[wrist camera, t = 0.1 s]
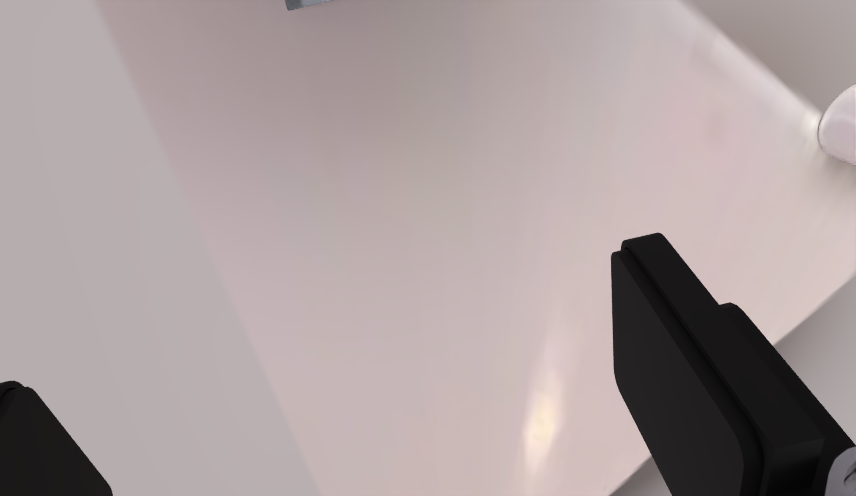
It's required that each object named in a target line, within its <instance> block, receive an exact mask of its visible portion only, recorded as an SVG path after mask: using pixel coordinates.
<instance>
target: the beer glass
mask: <svg viewBox="0 0 856 496" xmlns="http://www.w3.org/2000/svg"><path fill="white" fill-rule="evenodd" d="M818 137H819V142H820V145H821V147H822V148H823V150H824V151H825V152H826V153H827V154H829V155H830V156H832V157H834V158H836V159H839V160H842V161H844V162H847V163H850V164H853V165H855V166H856V84H854V85H852V86H850V87H849V88H847V89H846V90H845V91H843V92H842V93H841V94H840V95H838V96H837V98H835V99H834V101H833V102H832V103H831V104H830V106H829V107H828V108H827V110H826V111H825V113H824V115H823V117H822V119H821V122H820V126H819V131H818Z"/></svg>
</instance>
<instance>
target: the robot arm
mask: <svg viewBox="0 0 856 496" xmlns="http://www.w3.org/2000/svg"><path fill="white" fill-rule="evenodd" d="M611 279H612V318H613V356H614V374H615V379H616V383H617V386H618V389H619V391H620V393H621V395H622V397H623V399H624V401H625V403H626V405H627V407H628V409H629V411H630V413H631V415H632V417H633V419H634V421H635V423H636V425H637V427H638V429H639V431H640V433H641V435H642V437H643V439H644V441H645V443H646V445H647V447H648V449H649V451H650V453H651V455H652V457H653V459H654V461H655V462H656V465H657V467H658V469H659V471H660V473H661V474H662V476H663V478H664V480H665V482H666V484H667V486H668V488H669V490H670V492H671V494H672V496H856V445H855V444H854V443H853V441H852V440H851V439H850V438H849V437H848V436H847V434H846V433H845V432H844V431H843V429H842V428H841V427H840V426H839V425H838V423H837V422H836V421H835V420H834V419H833V417H832V416H831V415H830V414H829V413H828V412H827V410H826V409H825V408H824V407H823V405H822V404H821V403H820V402H819V401H818V400H817V398H816V397H815V396H814V395H813V394H812V393H811V391H810V390H809V389H808V388H807V386H806V385H805V384H804V383H803V382H802V380H801V379H800V378H799V377H798V376H797V375H796V373H795V372H794V371H793V370H792V368H791V367H790V366H789V365H788V364H787V363H786V361H785V360H784V359H783V358H782V357H781V355H780V354H779V353H778V352H777V351H776V350H775V348H774V347H773V346H772V345H771V343H770V342H769V341H768V340H767V339H766V337H765V336H764V335H763V334H762V333H761V331H760V330H759V329H758V328H757V327H756V326H755V324H754V323H753V322H752V321H751V320H750V318H749V317H748V316H747V315H746V314H745V312H744V311H743V310H741V309H740V308H739V307H738V306H737V305H735V304H733V303H731V302H730V303H725V304H721V305H719V304H718V303H717V302H716V300H715V299H714V298H713V297H712V295H711V294H710V293H709V292H708V290H707V289H706V288H705V287H704V285H703V284H702V283H701V282H700V280H699V279H698V278H697V277H696V275H695V274H694V273H693V272H692V270H691V269H690V268H689V267H688V265H687V264H686V263H685V262H684V260H683V259H682V258H681V257H680V255H679V254H678V253H677V252H676V250H675V249H674V248H673V247H672V245H671V244H670V243H669V242H668V240H667V239H666V238H665V237H664V236H663V235H662V234H661V233H654V234H650V235H645V236H641V237H637V238H632V239H628V240H624V241H623V242H622V245H621V251H617V252H613V253H612V255H611ZM0 496H113V494H112V490H111V488H110V486H109V484H108V483H107V482H106V480H105V479H104V478H103V477H102V475H101V474H100V473H99V472H98V470H97V469H96V468H95V466H94V465H93V464H92V463H91V462H90V461H89V459H88V458H87V456H86V455H85V454H84V453H83V451H82V450H81V449H80V447H79V446H78V445H77V444H76V443H75V441H74V440H73V439H72V437H71V436H70V435H69V434H68V432H67V431H66V430H65V429H64V427H63V426H62V425H61V423H60V422H59V421H58V420H57V418H56V417H55V416H54V415H53V413H52V412H51V411H50V410H49V408H48V407H47V406H46V405H45V403H44V402H43V401H42V399H41V398H40V397H39V396H38V394H37V393H36V392H35V391H34V390H33V389H32V388H29V387H24V386H22V384H20V383H19V382H16V381H7V382H3V383H0Z"/></svg>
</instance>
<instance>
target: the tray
mask: <svg viewBox="0 0 856 496" xmlns="http://www.w3.org/2000/svg"><path fill="white" fill-rule="evenodd" d="M327 1H332V0H285V2H286V6H287V9H288V11H289V10H293V9H297V8H302V7H306V6H310V5H314V4H319V3H323V2H327Z"/></svg>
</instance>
